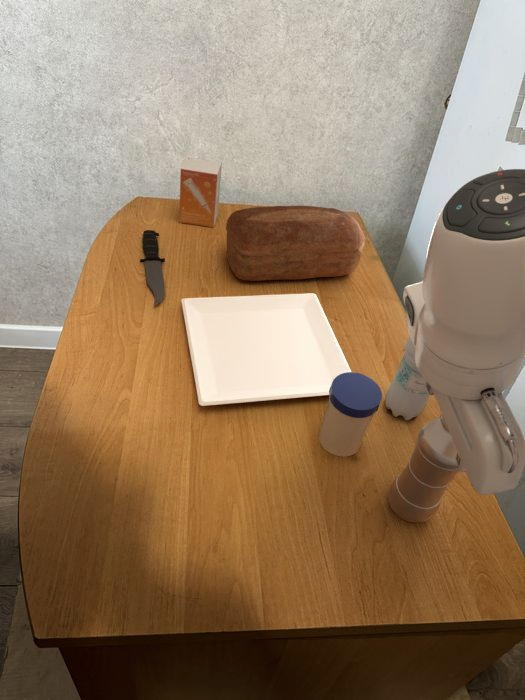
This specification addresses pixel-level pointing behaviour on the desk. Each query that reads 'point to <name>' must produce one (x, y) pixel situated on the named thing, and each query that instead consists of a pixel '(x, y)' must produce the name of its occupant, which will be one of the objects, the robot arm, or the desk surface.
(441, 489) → the silver ringed container
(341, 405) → the lid
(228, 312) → the plate
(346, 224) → the bread
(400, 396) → the bottle
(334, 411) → the jar
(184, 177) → the small box
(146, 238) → the knife
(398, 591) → the desk surface
